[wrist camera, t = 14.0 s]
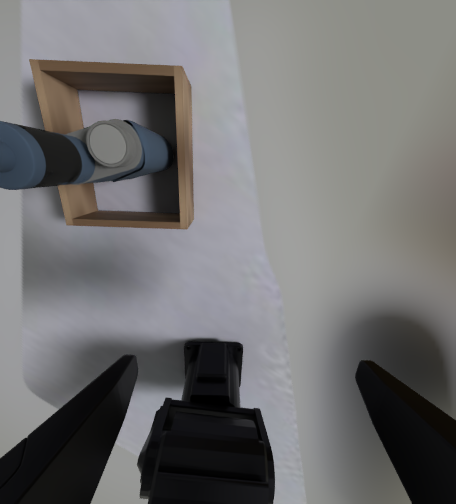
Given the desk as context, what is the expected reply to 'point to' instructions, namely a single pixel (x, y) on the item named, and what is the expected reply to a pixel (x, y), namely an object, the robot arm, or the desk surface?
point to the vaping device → (79, 154)
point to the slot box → (70, 119)
